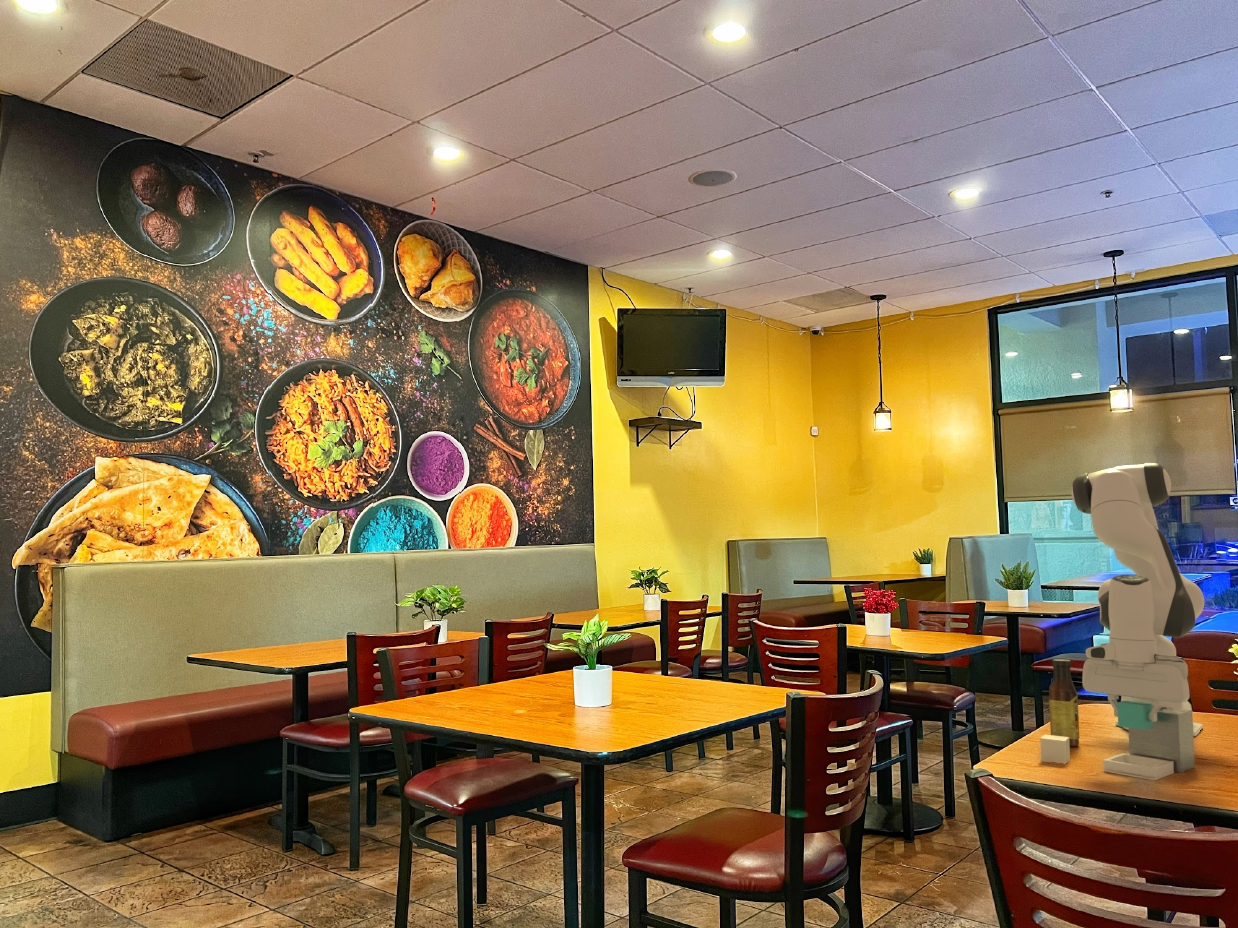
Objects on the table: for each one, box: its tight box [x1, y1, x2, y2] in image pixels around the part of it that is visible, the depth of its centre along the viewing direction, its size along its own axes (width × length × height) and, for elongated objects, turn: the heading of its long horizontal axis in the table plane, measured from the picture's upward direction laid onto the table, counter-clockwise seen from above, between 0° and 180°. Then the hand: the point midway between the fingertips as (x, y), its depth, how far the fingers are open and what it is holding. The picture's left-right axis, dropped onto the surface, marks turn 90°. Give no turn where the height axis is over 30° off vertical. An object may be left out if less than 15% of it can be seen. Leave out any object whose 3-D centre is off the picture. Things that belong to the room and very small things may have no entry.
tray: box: [1102, 752, 1175, 781], centre depth 197 cm, size 10×10×2 cm
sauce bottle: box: [1048, 658, 1081, 748], centre depth 224 cm, size 7×6×20 cm
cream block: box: [1040, 734, 1071, 765], centre depth 207 cm, size 5×5×5 cm
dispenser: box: [1128, 705, 1196, 774], centre depth 203 cm, size 8×10×12 cm
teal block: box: [1117, 700, 1153, 730], centre depth 197 cm, size 5×5×5 cm
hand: (1135, 718), depth 197 cm, fingers closed on teal block, 5 cm apart
